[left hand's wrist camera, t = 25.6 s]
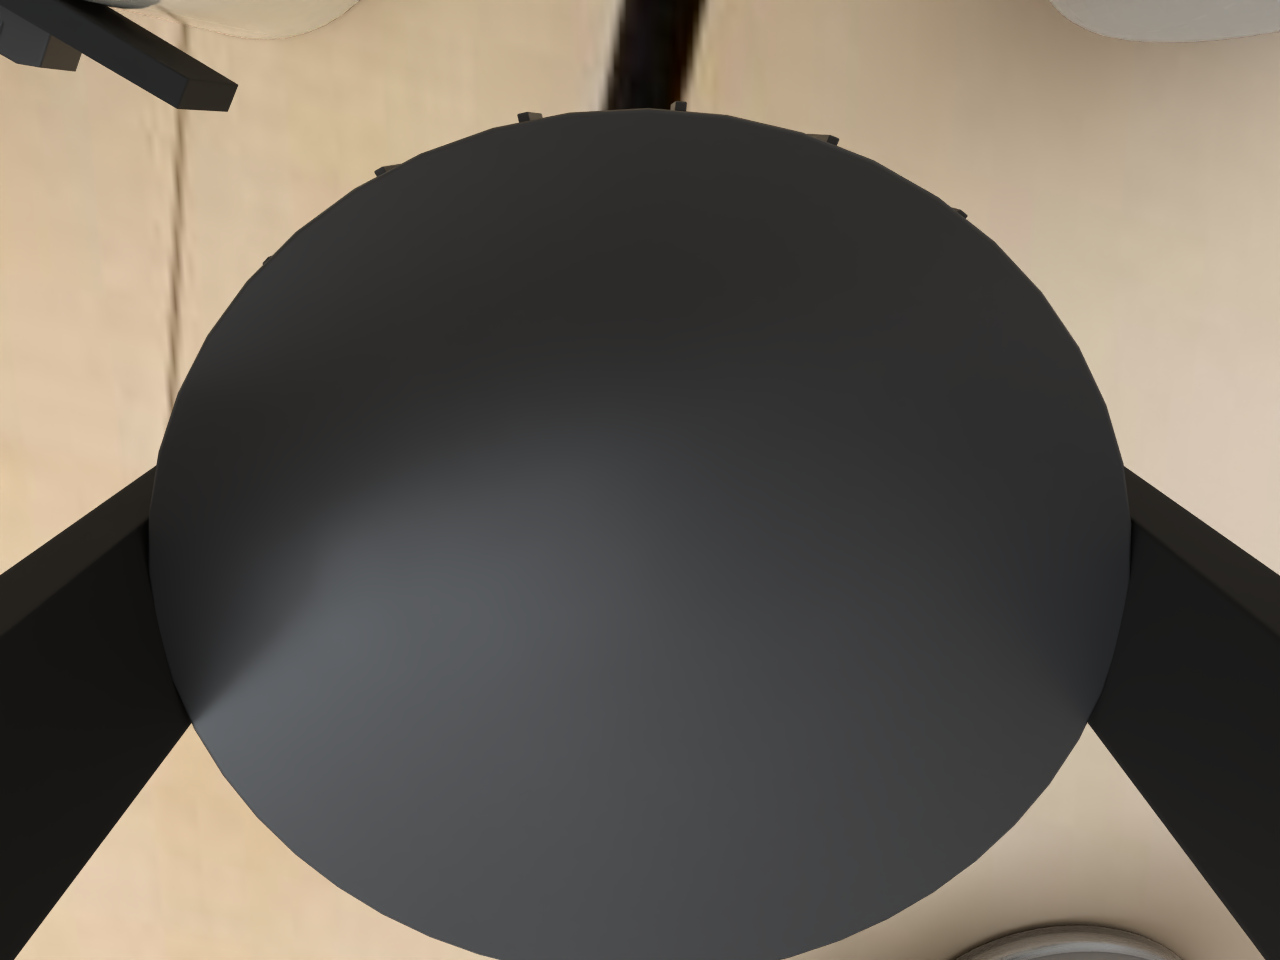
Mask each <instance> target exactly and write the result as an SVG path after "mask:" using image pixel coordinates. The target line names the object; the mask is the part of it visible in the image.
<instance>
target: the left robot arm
mask: <svg viewBox="0 0 1280 960" xmlns="http://www.w3.org/2000/svg"><path fill="white" fill-rule="evenodd" d="M156 466H157V465H156ZM156 466H155V467H153V468H152V469H151V470H149V471H148V472H146V473H145V474H143V475H142V476H141V477H139V478H138V479H136V480H135V481H134V482H132V483H131V484H129V485H128V486H126V487H125V488H124V489H122V490H121V491H119V492H118V493H116V494H115V495H114V496H112V497H111V498H109V499H108V500H107V501H105V502H104V503H102V504H101V505H99V506H98V507H97V508H95V509H94V510H92V511H91V512H89V513H88V514H87V515H85V516H84V517H82V518H81V519H79V520H78V521H77V522H75V523H74V524H72V525H71V526H70V527H68V528H67V529H65V530H64V531H62V532H61V533H60V534H58V535H57V536H55V537H54V538H52V539H51V540H50V541H48V542H47V543H45V544H44V545H43V546H41V547H40V548H38V549H37V550H35V551H34V552H33V553H31V554H30V555H28V556H27V557H25V558H24V559H23V560H21V561H20V562H18V563H17V564H16V565H14V566H13V567H11V568H10V569H8V570H7V571H6V572H4V573H3V574H1V575H0V960H14V959H15V958H16V956H17V955H18V954H19V952H20V951H21V950H22V948H23V947H24V946H25V944H26V943H27V942H28V940H29V939H30V938H31V936H32V935H33V934H34V932H35V931H36V930H37V928H38V927H39V926H40V924H41V923H42V922H43V920H44V919H45V918H46V916H47V915H48V914H49V912H50V911H51V910H52V908H53V907H54V906H55V904H56V903H57V902H58V900H59V899H60V898H61V896H62V895H63V894H64V892H65V891H66V890H67V888H68V887H69V886H70V884H71V883H72V882H73V880H74V879H75V878H76V876H77V875H78V874H79V872H80V871H81V870H82V868H83V867H84V866H85V864H86V863H87V862H88V860H89V859H90V858H91V856H92V855H93V854H94V852H95V851H96V850H97V848H98V847H99V846H100V844H101V843H102V842H103V840H104V839H105V838H106V836H107V835H108V834H109V832H110V831H111V830H112V828H113V827H114V826H115V824H116V823H117V822H118V820H119V819H120V818H121V816H122V815H123V814H124V812H125V811H126V810H127V808H128V807H129V806H130V804H131V803H132V802H133V800H134V799H135V798H136V796H137V795H138V794H139V792H140V791H141V790H142V788H143V787H144V786H145V784H146V783H147V782H148V780H149V779H150V778H151V776H152V775H153V774H154V772H155V771H156V770H157V768H158V767H159V766H160V764H161V763H162V762H163V760H164V759H165V758H166V756H167V755H168V754H169V752H170V751H171V750H172V748H173V747H174V746H175V744H176V743H177V742H178V740H179V739H180V738H181V736H182V735H183V734H184V732H185V731H186V730H187V728H188V727H189V726H190V724H191V723H192V722H191V720H190V718H189V716H188V714H187V711H186V709H185V707H184V705H183V702H182V700H181V698H180V696H179V694H178V691H177V689H176V687H175V685H174V683H173V680H172V677H171V674H170V670H169V666H168V662H167V658H166V654H165V650H164V646H163V642H162V638H161V633H160V629H159V625H158V620H157V616H156V611H155V606H154V601H153V597H152V591H151V584H150V577H149V509H150V503H151V496H152V490H153V484H154V478H155V472H156ZM1124 472H1125V480H1126V488H1127V495H1128V503H1129V511H1130V519H1131V554H1130V583H1129V588H1128V592H1127V597H1126V601H1125V606H1124V610H1123V615H1122V620H1121V624H1120V629H1119V633H1118V637H1117V642H1116V646H1115V650H1114V654H1113V657H1112V661H1111V665H1110V669H1109V673H1108V676H1107V679H1106V682H1105V685H1104V688H1103V691H1102V693H1101V695H1100V697H1099V699H1098V701H1097V703H1096V705H1095V708H1094V710H1093V712H1092V714H1091V716H1090V718H1089V720H1088V724H1089V725H1090V726H1091V728H1092V729H1093V730H1094V732H1095V733H1096V734H1097V736H1098V737H1099V738H1100V740H1101V741H1102V742H1103V744H1104V745H1105V746H1106V748H1107V749H1108V750H1109V752H1110V753H1111V754H1112V756H1113V757H1114V758H1115V760H1116V761H1117V762H1118V764H1119V765H1120V766H1121V768H1122V769H1123V770H1124V772H1125V773H1126V774H1127V776H1128V777H1129V778H1130V780H1131V781H1132V782H1133V784H1134V785H1135V786H1136V788H1137V789H1138V790H1139V792H1140V793H1141V794H1142V796H1143V797H1144V798H1145V800H1146V801H1147V802H1148V804H1149V805H1150V806H1151V808H1152V809H1153V810H1154V812H1155V813H1156V814H1157V816H1158V817H1159V818H1160V820H1161V821H1162V822H1163V824H1164V825H1165V826H1166V828H1167V829H1168V830H1169V832H1170V833H1171V834H1172V836H1173V837H1174V838H1175V840H1176V841H1177V842H1178V844H1179V845H1180V846H1181V848H1182V849H1183V850H1184V852H1185V853H1186V854H1187V856H1188V857H1189V858H1190V860H1191V861H1192V862H1193V864H1194V865H1195V866H1196V868H1197V869H1198V870H1199V872H1200V873H1201V874H1202V876H1203V877H1204V878H1205V880H1206V881H1207V882H1208V884H1209V885H1210V886H1211V888H1212V889H1213V890H1214V892H1215V893H1216V894H1217V896H1218V897H1219V898H1220V900H1221V901H1222V902H1223V904H1224V905H1225V906H1226V908H1227V909H1228V910H1229V912H1230V913H1231V914H1232V916H1233V917H1234V918H1235V920H1236V921H1237V922H1238V924H1239V925H1240V926H1241V928H1242V929H1243V930H1244V932H1245V933H1246V934H1247V936H1248V937H1249V938H1250V940H1251V941H1252V942H1253V944H1254V945H1255V946H1256V948H1257V949H1258V950H1259V952H1260V953H1261V954H1262V956H1263V957H1264V958H1265V960H1280V576H1279V575H1278V574H1277V573H1275V572H1274V571H1272V570H1271V569H1270V568H1268V567H1267V566H1265V565H1264V564H1262V563H1261V562H1260V561H1258V560H1257V559H1255V558H1254V557H1252V556H1251V555H1250V554H1248V553H1247V552H1245V551H1244V550H1243V549H1241V548H1240V547H1238V546H1237V545H1235V544H1234V543H1233V542H1231V541H1230V540H1228V539H1227V538H1225V537H1224V536H1223V535H1221V534H1220V533H1218V532H1217V531H1215V530H1214V529H1213V528H1211V527H1210V526H1208V525H1207V524H1206V523H1204V522H1203V521H1201V520H1200V519H1198V518H1197V517H1196V516H1194V515H1193V514H1191V513H1190V512H1188V511H1187V510H1186V509H1184V508H1183V507H1181V506H1180V505H1179V504H1177V503H1176V502H1174V501H1173V500H1171V499H1170V498H1169V497H1167V496H1166V495H1164V494H1163V493H1161V492H1160V491H1159V490H1157V489H1156V488H1154V487H1153V486H1152V485H1150V484H1149V483H1147V482H1146V481H1144V480H1143V479H1142V478H1140V477H1139V476H1137V475H1136V474H1134V473H1133V472H1132V471H1130V470H1129V469H1127V468H1126V467H1125V466H1124ZM955 960H1182V959H1181V958H1180V957H1179V956H1177V955H1176V954H1175V953H1173V952H1172V951H1171V950H1169V949H1167V948H1166V947H1164V946H1162V945H1161V944H1159V943H1157V942H1155V941H1152V940H1150V939H1148V938H1146V937H1143V936H1140V935H1137V934H1134V933H1131V932H1127V931H1123V930H1119V929H1113V928H1107V927H1099V926H1086V925H1068V926H1053V927H1046V928H1038V929H1033V930H1028V931H1024V932H1019V933H1016V934H1012V935H1009V936H1005V937H1002V938H1000V939H997V940H994V941H991V942H989V943H986V944H984V945H982V946H979V947H977V948H975V949H973V950H971V951H969V952H967V953H965V954H964V955H962V956H960V957H958V958H957V959H955Z"/></svg>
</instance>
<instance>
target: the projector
mask: <svg viewBox="0 0 1280 960" xmlns="http://www.w3.org/2000/svg"><path fill="white" fill-rule="evenodd" d="M1049 1H1050V2H1051V3H1052V5H1053V6H1054V7H1055V8H1056V9H1057V10H1058V11H1059V12H1060V13H1061V14H1062V15H1063V16H1064V17H1066V18H1067V19H1068V20H1070V21H1071V22H1073V23H1075V24H1077V25H1078V26H1080V27H1082V28H1084V29H1087V30H1089V31H1091V32H1094V33H1097V34H1100V35H1103V36H1107V37H1112V38H1118V39H1124V40H1130V41H1143V42H1198V41H1213V40H1223V39H1231V38H1240V37H1247V36H1254V35H1260V34H1266V33H1273V32H1279V31H1280V0H1049Z"/></svg>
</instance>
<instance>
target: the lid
mask: <svg viewBox="0 0 1280 960" xmlns="http://www.w3.org/2000/svg"><path fill="white" fill-rule="evenodd" d="M686 106H687V102H681V101H676V102H674V103H673V104H671V110H663V109H651V108H644V109H626V110H608V111H590V112H572V113H565V114H560V115H555V116H550V117H545V118H542V114H539V113H531V112H525V113H520V114H518V115H517V116H518V120H519V123H516V124H511V125H506V126H501V127H496V128H492V129H489V130H486V131H483V132H480V133H478V134H475V135H472V136H469V137H466V138H463V139H461V140H458V141H455V142H452V143H449V144H447V145H444V146H441V147H438V148H435V149H433V150H430V151H427V152H424V153H421V154H419V155H417V156H415V157H413V158H412V159H410V160H408V161H406V162H404V163H402V164H397V165H390V166H384V167H381V168H379V169H378V170H376V171H375V174H376V176H377V177H376V178H374V179H372V180H370V181H368V182H366V183H364V184H363V185H361V186H359V187H357V188H355V189H353V190H352V191H351V192H349V193H348V194H347V195H345V196H344V197H343V198H341V199H340V200H339V201H337V202H336V203H335V204H333V205H332V206H330V207H329V208H328V209H326V210H325V211H324V212H322V213H321V214H320V215H318V216H317V217H316V218H314V219H313V220H311V221H310V222H309V223H307V224H306V225H305V226H303V227H302V228H301V229H299V230H298V231H297V232H295V233H294V234H293V235H292V236H291V237H290V238H289V239H288V240H287V241H286V243H285V244H284V245H283V246H282V247H281V248H280V249H279V250H278V251H277V252H276V253H275V254H274V255H273V256H270V257H268V258H267V259H266V260H265V261H264V262H263V266H262V267H261V268H260V269H259V270H258V271H257V272H256V273H255V274H254V275H253V276H252V277H251V278H250V279H249V280H248V281H247V282H246V283H245V285H244V286H243V287H242V289H241V290H240V291H239V293H238V294H237V296H236V297H235V298H234V300H233V301H232V302H231V304H230V305H229V307H228V308H227V309H226V311H225V312H224V313H223V315H222V316H221V318H220V319H219V320H218V322H217V323H216V324H215V326H214V327H213V329H212V330H211V331H210V333H209V334H208V335H207V337H206V339H205V341H204V343H203V345H202V347H201V349H200V351H199V353H198V355H197V357H196V359H195V361H194V363H193V365H192V367H191V369H190V370H189V372H188V374H187V376H186V378H185V380H184V382H183V384H182V386H181V388H180V390H179V392H178V395H177V398H176V401H175V404H174V407H173V410H172V413H171V416H170V419H169V422H168V425H167V428H166V431H165V434H164V437H163V440H162V443H161V446H160V449H159V453H158V459H157V466H156V472H155V478H154V484H153V490H152V496H151V503H150V509H149V577H150V584H151V591H152V597H153V601H154V606H155V611H156V616H157V620H158V625H159V629H160V633H161V638H162V642H163V646H164V650H165V654H166V658H167V662H168V666H169V670H170V674H171V677H172V680H173V683H174V685H175V687H176V689H177V691H178V694H179V696H180V698H181V700H182V702H183V705H184V707H185V709H186V711H187V714H188V716H189V718H190V720H191V722H192V725H193V727H194V729H195V731H196V732H197V734H198V736H199V737H200V739H201V740H202V742H203V744H204V745H205V747H206V749H207V750H208V752H209V753H210V755H211V757H212V758H213V760H214V761H215V763H216V765H217V766H218V768H219V769H220V771H221V773H222V774H223V776H224V777H225V778H226V779H227V781H228V782H229V783H230V784H231V786H232V787H233V788H234V789H235V791H236V792H237V793H238V794H239V796H240V797H241V798H242V799H243V800H244V802H245V803H246V804H247V805H248V807H249V808H250V809H251V810H252V812H253V813H254V814H255V815H256V816H257V818H258V819H259V820H260V821H262V822H263V823H264V824H265V825H266V826H267V827H268V828H269V829H270V830H271V831H272V832H273V833H274V834H275V835H276V836H277V837H278V838H279V839H280V840H281V841H282V842H283V843H284V844H285V845H286V846H287V847H288V848H289V849H290V850H291V851H292V852H293V853H295V854H296V855H297V856H298V857H299V858H301V859H302V860H303V861H305V862H306V863H307V864H309V865H310V866H311V867H312V868H314V869H315V870H316V871H318V872H319V873H320V874H322V875H323V876H324V877H325V878H327V879H328V880H329V881H331V882H332V883H333V884H334V885H336V886H337V887H339V888H340V889H342V890H344V891H345V892H347V893H348V894H350V895H352V896H353V897H355V898H357V899H358V900H360V901H362V902H363V903H365V904H366V905H368V906H370V907H371V908H373V909H375V910H376V911H378V912H380V913H381V914H383V915H385V916H387V917H389V918H391V919H393V920H396V921H398V922H400V923H402V924H404V925H406V926H408V927H410V928H412V929H414V930H417V931H419V932H421V933H423V934H425V935H427V936H429V937H432V938H434V939H437V940H440V941H443V942H446V943H448V944H451V945H454V946H457V947H460V948H462V949H465V950H468V951H471V952H474V953H476V954H479V955H483V956H487V957H491V958H495V959H499V960H781V959H785V958H790V957H793V956H796V955H799V954H802V953H805V952H808V951H810V950H813V949H816V948H819V947H822V946H825V945H828V944H831V943H834V942H837V941H840V940H842V939H844V938H847V937H849V936H851V935H853V934H856V933H858V932H860V931H862V930H864V929H867V928H869V927H871V926H873V925H875V924H878V923H880V922H882V921H884V920H886V919H888V918H890V917H892V916H894V915H895V914H897V913H899V912H900V911H902V910H904V909H906V908H907V907H909V906H911V905H912V904H914V903H916V902H918V901H919V900H921V899H923V898H924V897H926V896H928V895H930V894H931V893H933V892H934V891H936V890H937V889H938V888H940V887H941V886H943V885H944V884H945V883H947V882H948V881H949V880H951V879H952V878H953V877H955V876H956V875H957V874H959V873H960V872H962V871H963V870H964V869H966V868H967V867H968V866H970V865H971V864H972V863H974V862H975V861H976V860H977V859H978V858H980V857H981V856H982V855H983V854H984V853H985V852H986V851H987V850H988V849H989V848H990V847H991V846H993V845H994V844H995V843H996V842H997V841H998V840H999V839H1000V838H1001V837H1002V836H1003V835H1004V834H1005V833H1007V832H1008V831H1009V830H1010V829H1011V828H1012V827H1013V826H1014V825H1015V824H1016V823H1017V822H1018V821H1019V819H1020V818H1021V817H1022V816H1023V815H1024V813H1025V812H1026V811H1027V810H1028V809H1029V808H1030V806H1031V805H1032V804H1033V803H1034V802H1035V801H1036V799H1037V798H1038V797H1039V796H1040V795H1041V794H1042V792H1043V791H1044V790H1045V789H1046V788H1047V787H1048V785H1049V784H1050V783H1051V781H1052V780H1053V778H1054V777H1055V775H1056V774H1057V772H1058V770H1059V769H1060V767H1061V766H1062V764H1063V763H1064V761H1065V760H1066V758H1067V757H1068V755H1069V754H1070V752H1071V751H1072V749H1073V748H1074V746H1075V745H1076V743H1077V742H1078V740H1079V738H1080V736H1081V734H1082V732H1083V730H1084V728H1085V726H1086V724H1087V722H1088V720H1089V718H1090V716H1091V714H1092V712H1093V710H1094V708H1095V705H1096V703H1097V701H1098V699H1099V697H1100V695H1101V693H1102V691H1103V688H1104V685H1105V682H1106V679H1107V676H1108V673H1109V669H1110V665H1111V661H1112V657H1113V654H1114V650H1115V646H1116V642H1117V637H1118V633H1119V629H1120V624H1121V620H1122V615H1123V610H1124V606H1125V601H1126V597H1127V592H1128V588H1129V583H1130V554H1131V519H1130V511H1129V503H1128V495H1127V488H1126V480H1125V472H1124V465H1123V461H1122V457H1121V454H1120V451H1119V447H1118V444H1117V440H1116V437H1115V433H1114V430H1113V427H1112V423H1111V420H1110V416H1109V413H1108V409H1107V406H1106V403H1105V401H1104V399H1103V397H1102V395H1101V393H1100V391H1099V389H1098V386H1097V384H1096V382H1095V380H1094V378H1093V376H1092V374H1091V372H1090V369H1089V367H1088V365H1087V363H1086V361H1085V359H1084V357H1083V355H1082V352H1081V350H1080V348H1079V346H1078V345H1077V343H1076V342H1075V341H1074V339H1073V338H1072V336H1071V335H1070V333H1069V332H1068V330H1067V329H1066V327H1065V326H1064V324H1063V323H1062V321H1061V320H1060V318H1059V317H1058V315H1057V314H1056V313H1055V311H1054V310H1053V308H1052V307H1051V305H1050V304H1049V302H1048V301H1047V299H1046V298H1045V296H1044V295H1043V293H1042V292H1041V291H1040V290H1039V289H1038V288H1037V287H1036V286H1035V285H1034V283H1033V282H1032V281H1031V280H1030V279H1029V278H1028V277H1027V276H1026V275H1025V274H1024V273H1023V272H1022V271H1021V270H1020V268H1019V267H1018V266H1017V265H1016V264H1015V263H1014V262H1013V261H1012V260H1011V259H1010V258H1009V257H1008V256H1007V255H1006V253H1005V252H1004V251H1003V250H1002V249H1001V248H1000V247H999V246H998V245H997V244H996V243H995V242H994V241H993V240H992V239H990V238H989V237H988V236H987V235H985V234H984V233H983V232H982V231H980V230H979V229H978V228H977V227H975V226H974V225H973V224H971V223H970V222H969V221H968V220H966V217H967V215H966V214H965V213H964V212H963V211H962V210H959V209H956V208H952V207H950V206H949V205H947V204H946V203H945V202H944V201H942V200H941V199H940V198H939V197H937V196H935V195H933V194H932V193H930V192H928V191H926V190H925V189H923V188H921V187H919V186H918V185H916V184H914V183H912V182H911V181H909V180H907V179H905V178H904V177H902V176H900V175H898V174H897V173H895V172H893V171H891V170H890V169H888V168H886V167H884V166H883V165H881V164H879V163H877V162H876V161H874V160H871V159H869V158H866V157H864V156H861V155H858V154H856V153H853V152H851V151H848V150H846V149H843V148H841V147H838V146H837V144H838V141H839V138H836V137H834V136H831V135H818V134H805V133H802V132H798V131H793V130H789V129H785V128H780V127H776V126H772V125H767V124H763V123H759V122H755V121H750V120H746V119H742V118H737V117H733V116H729V115H721V114H709V113H697V112H686Z"/></svg>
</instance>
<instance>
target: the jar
mask: <svg viewBox="0 0 1280 960" xmlns="http://www.w3.org/2000/svg"><path fill="white" fill-rule="evenodd" d="M84 1H88V2H92V3H96V4H100V5H105V6H109V7H113V8H117V9H121V10H125V11H129V12H134V13H138V14H142V15H146V16H150V17H154V18H159V19H163V20H167V21H171V22H175V23H179V24H183V25H188V26H192V27H196V28H200V29H204V30H208V31H212V32H217V33H221V34H225V35H230V36H235V37H240V38H245V39H262V40H269V39H280V38H288V37H292V36H297V35H301V34H305V33H308V32H310V31H313V30H315V29H317V28H320V27H322V26H325V25H326V24H328V23H330V22H331V21H333V20H335V19H336V18H338V17H339V16H341V15H343V14H344V13H345V12H346V11H347V10H349V9H350V8H351V7H352V6H353V5H355V4H356V3H357V2H358V1H359V0H84Z"/></svg>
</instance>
